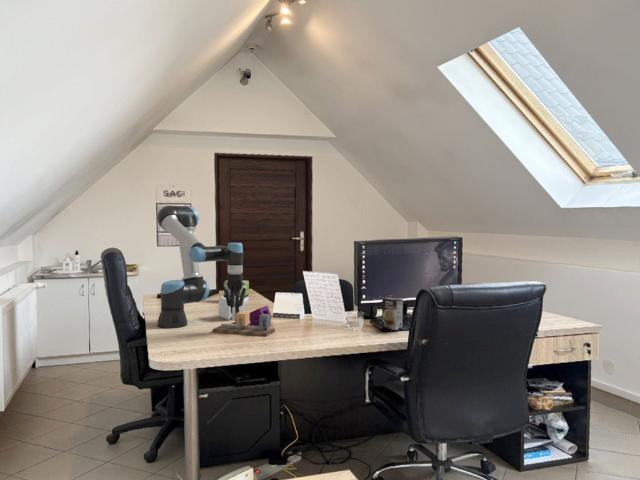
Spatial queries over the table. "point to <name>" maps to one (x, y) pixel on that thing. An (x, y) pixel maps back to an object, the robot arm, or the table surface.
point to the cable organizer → (227, 308)
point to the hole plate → (243, 331)
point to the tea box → (245, 284)
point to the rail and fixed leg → (263, 325)
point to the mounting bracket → (258, 315)
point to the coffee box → (392, 312)
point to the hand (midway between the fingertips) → (234, 319)
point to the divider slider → (242, 319)
